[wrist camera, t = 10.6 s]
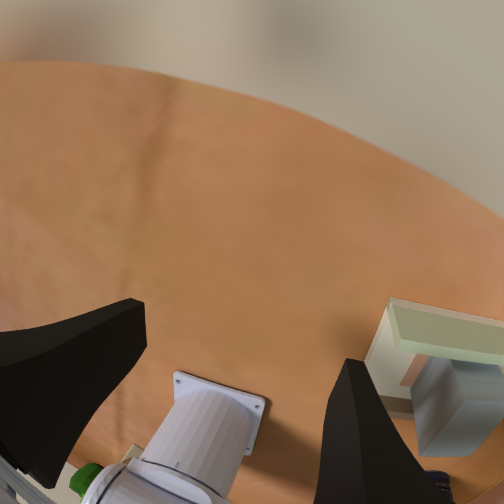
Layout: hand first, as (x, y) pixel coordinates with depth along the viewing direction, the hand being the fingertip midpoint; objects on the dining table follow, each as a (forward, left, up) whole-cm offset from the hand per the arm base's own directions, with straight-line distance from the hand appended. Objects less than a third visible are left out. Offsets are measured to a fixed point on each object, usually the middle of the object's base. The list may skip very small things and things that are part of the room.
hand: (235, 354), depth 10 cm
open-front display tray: (-5, -13, -9) cm, 17 cm away
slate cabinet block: (-5, -13, -8) cm, 16 cm away
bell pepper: (-52, +25, -10) cm, 58 cm away
